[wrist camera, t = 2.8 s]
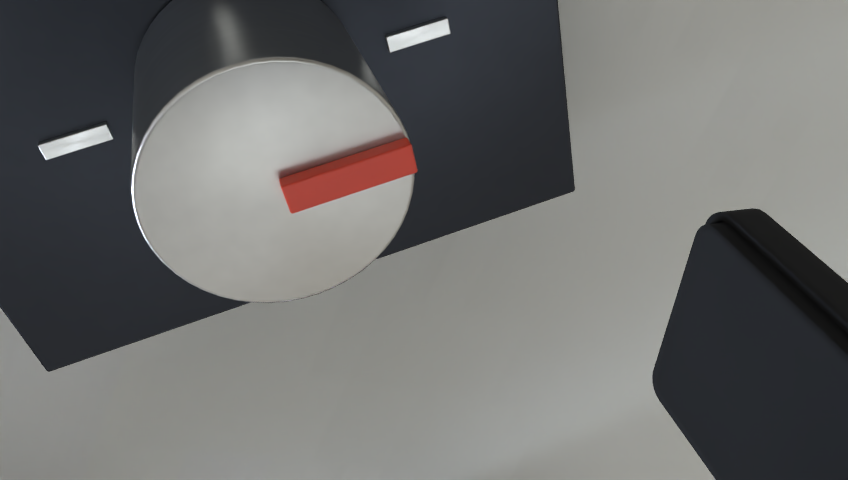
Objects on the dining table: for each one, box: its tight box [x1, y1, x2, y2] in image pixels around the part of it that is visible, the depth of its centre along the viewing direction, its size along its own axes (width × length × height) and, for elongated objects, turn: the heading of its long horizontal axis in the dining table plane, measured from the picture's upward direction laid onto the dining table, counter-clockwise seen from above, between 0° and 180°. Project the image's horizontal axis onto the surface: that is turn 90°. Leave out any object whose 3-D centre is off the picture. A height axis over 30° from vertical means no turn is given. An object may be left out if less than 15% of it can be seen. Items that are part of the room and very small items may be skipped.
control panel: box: [0, 0, 575, 372], centre depth 17 cm, size 14×11×3 cm
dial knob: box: [130, 0, 418, 303], centre depth 14 cm, size 5×5×5 cm
